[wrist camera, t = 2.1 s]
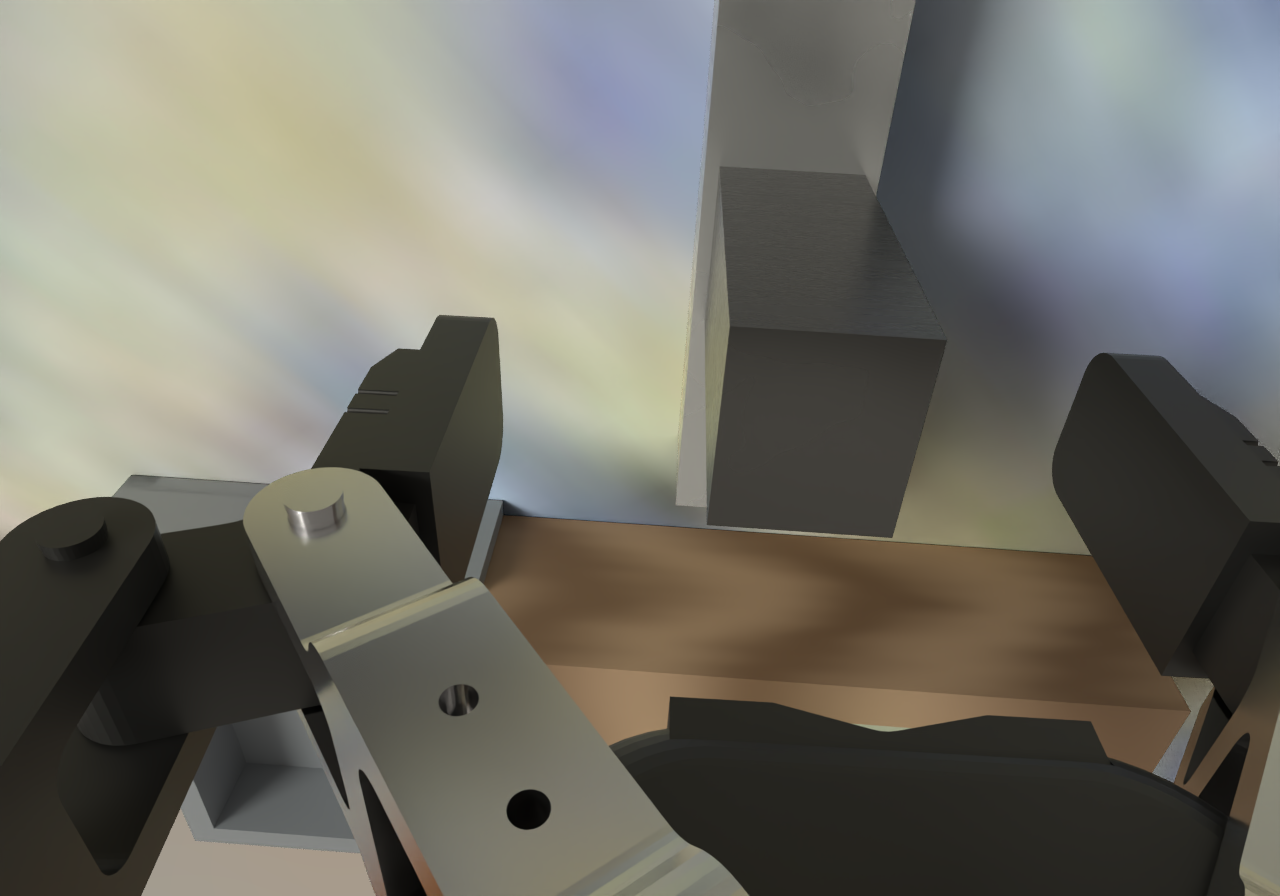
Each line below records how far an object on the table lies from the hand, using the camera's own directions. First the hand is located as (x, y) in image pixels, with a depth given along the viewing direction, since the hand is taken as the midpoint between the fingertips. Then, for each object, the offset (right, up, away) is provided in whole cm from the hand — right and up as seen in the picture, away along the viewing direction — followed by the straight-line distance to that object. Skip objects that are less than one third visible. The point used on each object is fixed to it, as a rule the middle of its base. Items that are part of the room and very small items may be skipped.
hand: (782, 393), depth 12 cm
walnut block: (+2, -8, +15) cm, 17 cm away
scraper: (+1, +5, +6) cm, 8 cm away
